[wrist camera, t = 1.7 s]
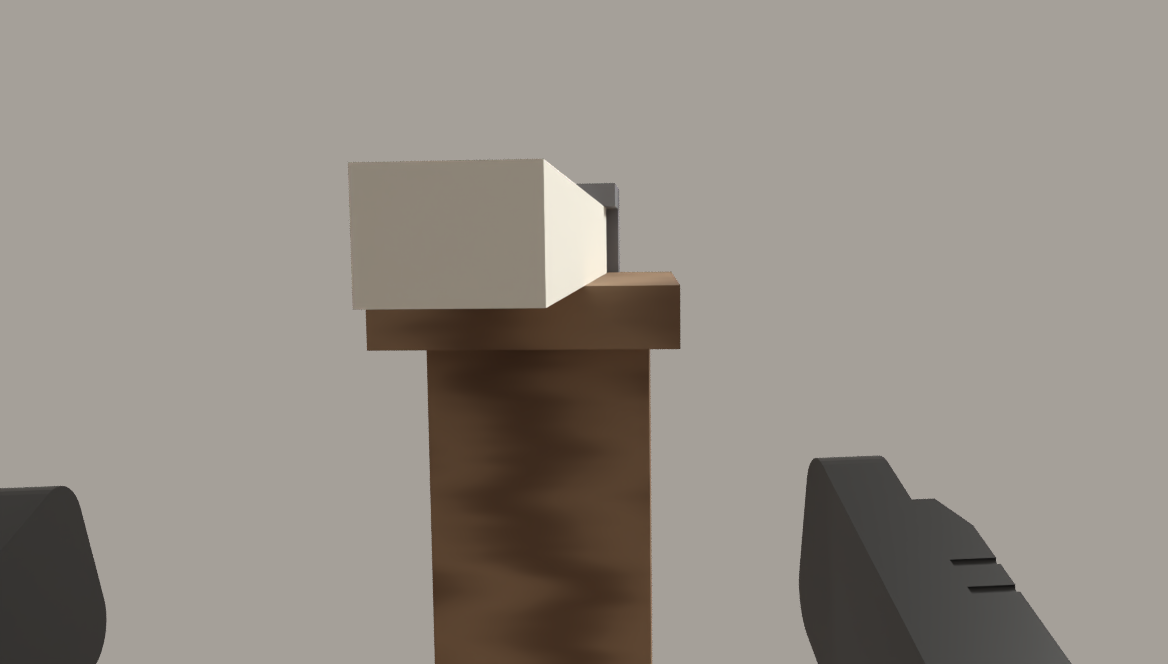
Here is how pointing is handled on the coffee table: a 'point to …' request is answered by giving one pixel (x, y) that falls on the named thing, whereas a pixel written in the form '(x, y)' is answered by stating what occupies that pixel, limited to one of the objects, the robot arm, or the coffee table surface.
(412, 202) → the white bar
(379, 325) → the wooden pedestal post
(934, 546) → the robot arm
